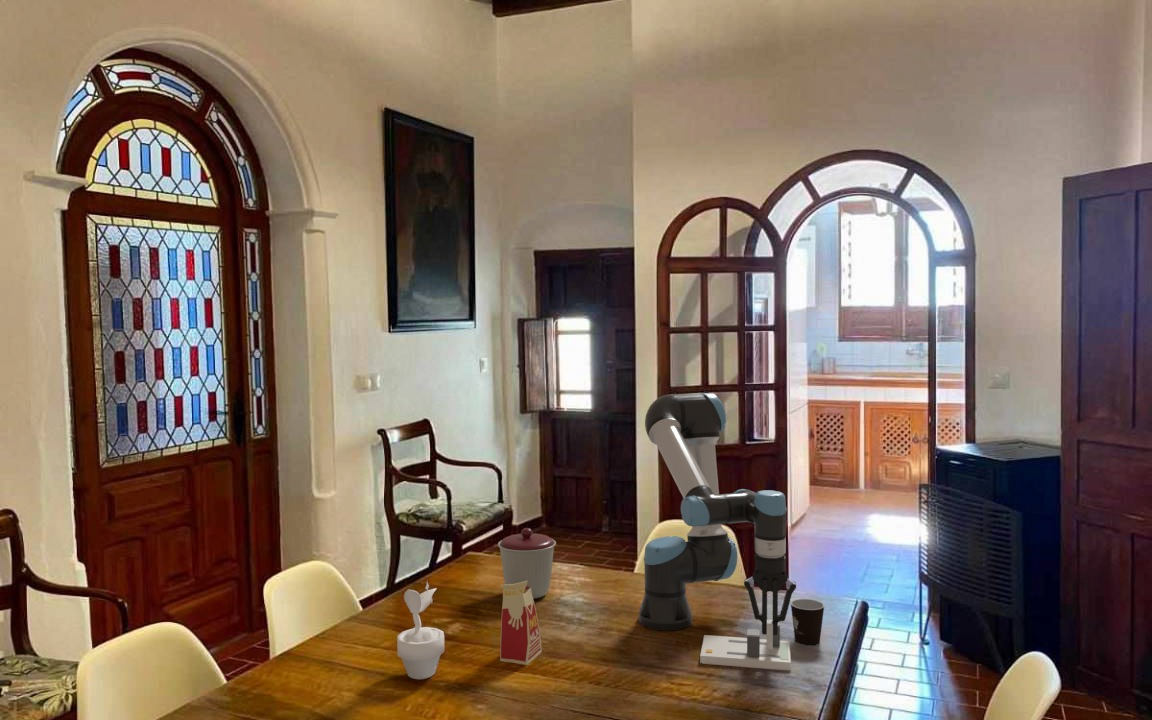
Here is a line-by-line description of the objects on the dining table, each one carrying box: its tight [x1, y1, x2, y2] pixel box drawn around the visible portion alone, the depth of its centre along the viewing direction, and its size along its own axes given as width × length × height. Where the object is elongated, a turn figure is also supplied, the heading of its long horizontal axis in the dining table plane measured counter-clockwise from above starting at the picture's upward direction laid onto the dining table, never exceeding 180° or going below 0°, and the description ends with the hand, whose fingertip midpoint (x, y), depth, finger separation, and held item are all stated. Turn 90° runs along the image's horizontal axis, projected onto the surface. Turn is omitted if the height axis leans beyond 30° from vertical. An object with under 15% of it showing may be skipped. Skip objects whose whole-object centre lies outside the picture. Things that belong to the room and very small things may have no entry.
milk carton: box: [499, 580, 543, 666], centre depth 220 cm, size 9×9×20 cm
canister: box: [497, 527, 557, 600], centre depth 268 cm, size 18×18×21 cm
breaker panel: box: [699, 634, 792, 671], centre depth 219 cm, size 22×14×2 cm, turn 77°
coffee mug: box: [790, 598, 825, 647], centre depth 229 cm, size 12×9×10 cm
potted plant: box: [396, 581, 445, 680], centre depth 209 cm, size 13×12×25 cm
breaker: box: [767, 618, 781, 646], centre depth 221 cm, size 3×4×5 cm
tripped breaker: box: [746, 628, 761, 657], centre depth 214 cm, size 3×4×5 cm
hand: (769, 647), depth 214 cm, fingers closed
